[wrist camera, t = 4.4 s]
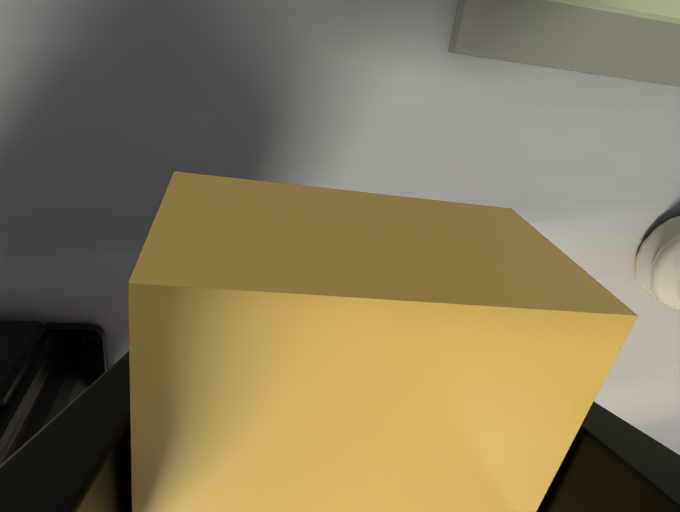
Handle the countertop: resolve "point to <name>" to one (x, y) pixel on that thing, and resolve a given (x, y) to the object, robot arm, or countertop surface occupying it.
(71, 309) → the countertop surface
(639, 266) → the rook chess piece
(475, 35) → the baseplate
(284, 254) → the ochre brick
